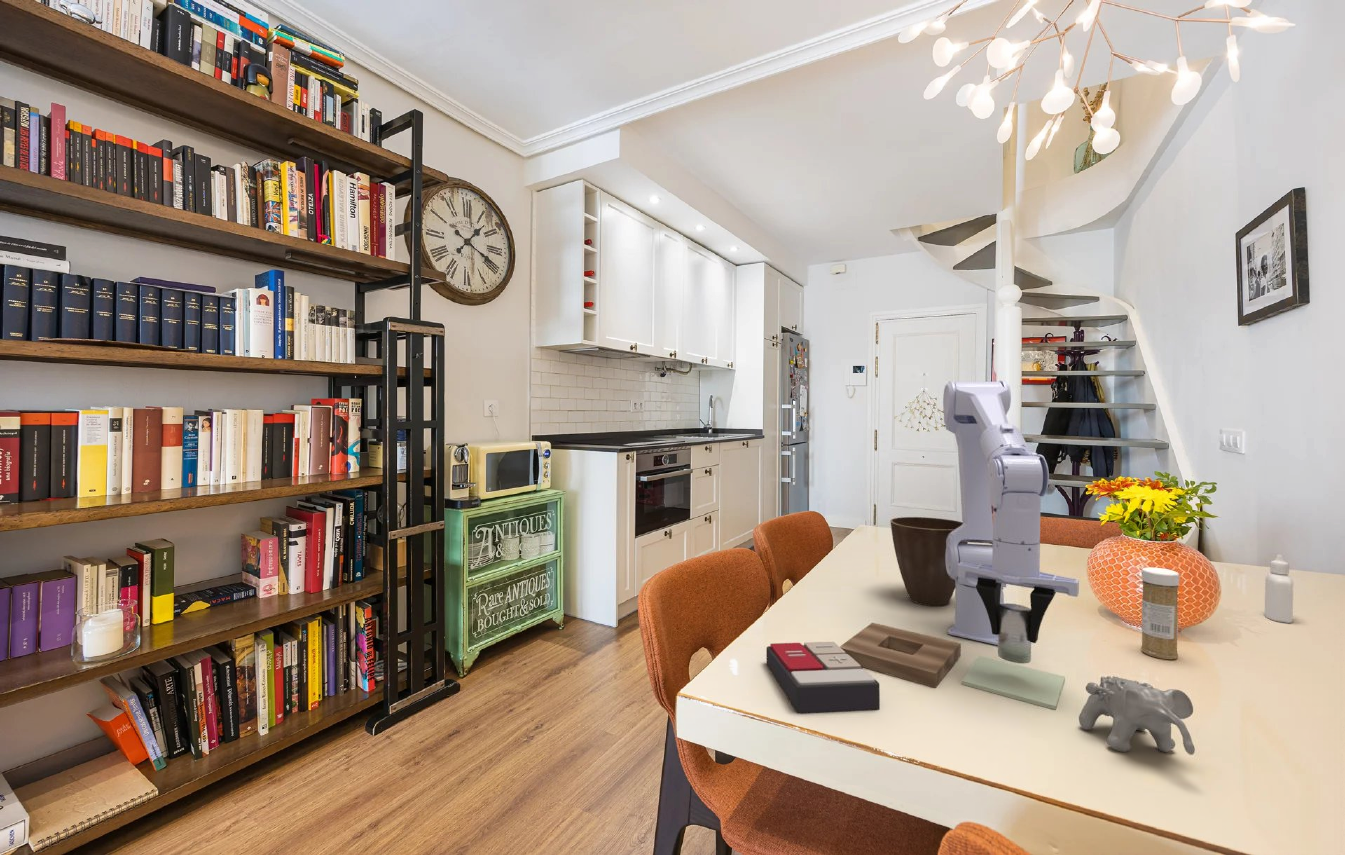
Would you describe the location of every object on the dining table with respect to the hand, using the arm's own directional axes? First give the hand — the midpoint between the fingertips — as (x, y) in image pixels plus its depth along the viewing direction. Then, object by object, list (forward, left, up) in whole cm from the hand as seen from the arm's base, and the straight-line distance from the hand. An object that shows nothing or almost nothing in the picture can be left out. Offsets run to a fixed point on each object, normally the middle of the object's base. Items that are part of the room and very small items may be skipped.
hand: (1014, 636), depth 81 cm
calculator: (+18, -21, -7) cm, 29 cm away
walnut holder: (+2, -15, -6) cm, 16 cm away
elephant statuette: (+10, +14, -7) cm, 19 cm away
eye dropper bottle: (-63, +34, -7) cm, 71 cm away
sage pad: (0, 0, -6) cm, 6 cm away
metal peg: (0, 0, -3) cm, 3 cm away
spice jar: (-26, +16, -7) cm, 31 cm away
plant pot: (-31, -20, -7) cm, 37 cm away
